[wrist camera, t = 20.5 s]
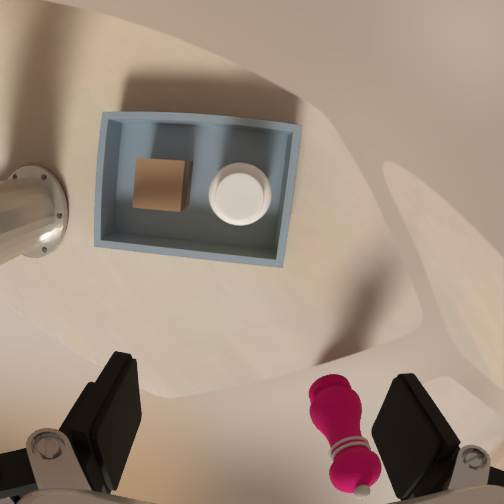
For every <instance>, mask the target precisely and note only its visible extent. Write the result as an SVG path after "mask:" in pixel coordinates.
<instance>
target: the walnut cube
mask: <svg viewBox="0 0 504 504" xmlns="http://www.w3.org/2000/svg"><path fill="white" fill-rule="evenodd" d="M192 169H193V161H183V160H169V159H153V158H136V166H135V178H134V192H133V208H143V209H154V210H164V211H175V212H181V211H182V210H184V209H185V208H186V207H188V206H189V200H190V189H191V179H192Z"/></svg>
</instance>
